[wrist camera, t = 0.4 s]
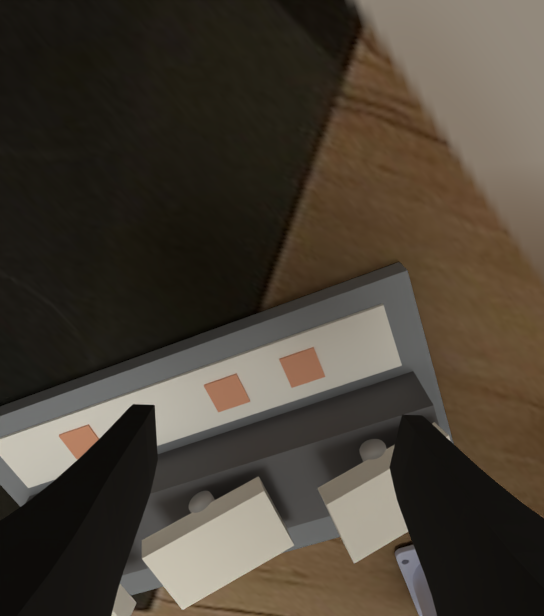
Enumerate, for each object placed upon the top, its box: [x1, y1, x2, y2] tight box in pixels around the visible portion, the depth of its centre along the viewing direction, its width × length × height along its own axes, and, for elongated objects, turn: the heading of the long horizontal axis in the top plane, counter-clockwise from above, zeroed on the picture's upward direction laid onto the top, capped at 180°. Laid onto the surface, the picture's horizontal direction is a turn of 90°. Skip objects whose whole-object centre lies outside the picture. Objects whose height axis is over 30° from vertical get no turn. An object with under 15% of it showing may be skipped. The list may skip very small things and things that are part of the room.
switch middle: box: [142, 476, 294, 610], centre depth 21 cm, size 4×6×2 cm, turn 111°
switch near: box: [318, 422, 450, 563], centre depth 20 cm, size 4×6×2 cm, turn 111°
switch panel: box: [0, 262, 454, 595], centre depth 24 cm, size 16×25×4 cm, turn 111°
